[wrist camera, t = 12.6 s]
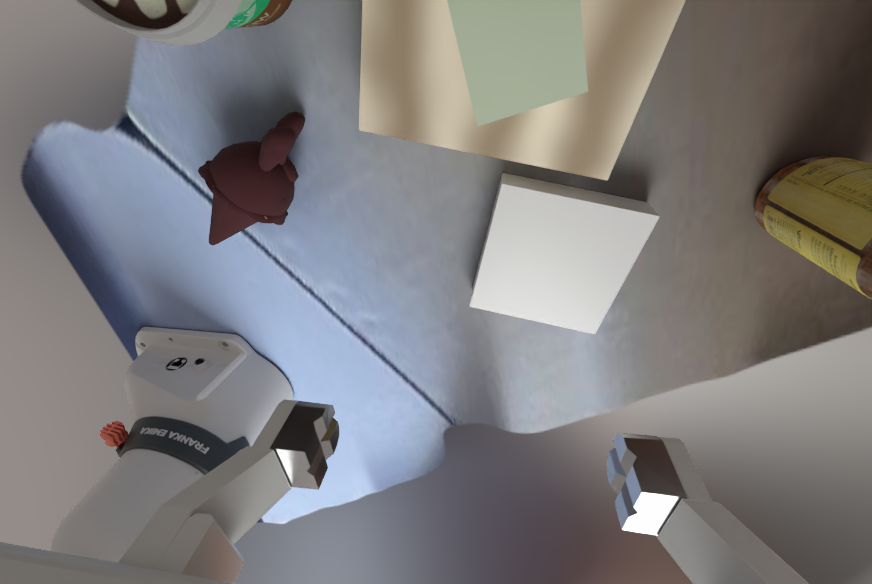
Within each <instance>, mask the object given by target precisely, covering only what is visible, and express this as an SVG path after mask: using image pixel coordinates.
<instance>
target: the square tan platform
mask: <svg viewBox="0 0 872 584" xmlns="http://www.w3.org/2000/svg"><path fill="white" fill-rule="evenodd" d="M685 1H686V0H580V4H581V16H582V27H583V38H584V49H585V60H586V71H587V83H588V92H585V93H582V94H579V95H576V96H573V97H570V98H566V99H563V100H560V101H557V102H554V103H551V104H547V105H544V106H541V107H538V108H535V109H532V110H528V111H525V112H522V113H519V114H516V115H513V116H509V117H506V118H503V119H500V120H497V121H494V122H490V123H487V124H484V125H481V126H478V127H477V123H476V119H475V115H474V111H473V107H472V102H471V98H470V94H469V90H468V86H467V81H466V77H465V73H464V69H463V65H462V61H461V56H460V52H459V48H458V44H457V40H456V36H455V31H454V27H453V23H452V19H451V15H450V11H449V6H448V2H447V0H362V36H361V73H360V111H359V130H361V131H366V132H370V133H375V134H380V135H385V136H390V137H395V138H400V139H405V140H410V141H415V142H420V143H425V144H430V145H434V146H439V147H444V148H449V149H454V150H459V151H464V152H469V153H474V154H479V155H484V156H489V157H494V158H499V159H503V160H508V161H513V162H518V163H523V164H528V165H533V166H538V167H543V168H548V169H553V170H558V171H563V172H567V173H572V174H577V175H582V176H587V177H592V178H597V179H602V180H607V181H608V178H609V176H610V174H611V171H612V169H613V167H614V164H615V162H616V160H617V158H618V155H619V153H620V151H621V148H622V146H623V144H624V141H625V139H626V137H627V134H628V132H629V130H630V128H631V125H632V123H633V121H634V118H635V116H636V114H637V111H638V109H639V107H640V104H641V102H642V100H643V98H644V95H645V93H646V91H647V88H648V86H649V84H650V81H651V79H652V77H653V74H654V72H655V70H656V68H657V65H658V63H659V61H660V58H661V56H662V54H663V51H664V49H665V47H666V44H667V42H668V40H669V37H670V35H671V33H672V31H673V28H674V26H675V24H676V21H677V19H678V17H679V14H680V12H681V10H682V7H683V5H684V3H685Z"/></svg>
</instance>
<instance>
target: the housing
mask: <svg viewBox="0 0 872 584" xmlns="http://www.w3.org/2000/svg"><path fill="white" fill-rule="evenodd" d="M447 2H448V6H449V11H450V15H451V19H452V23H453V27H454V31H455V36H456V40H457V44H458V48H459V52H460V56H461V61H462V65H463V69H464V73H465V77H466V81H467V86H468V90H469V94H470V98H471V102H472V107H473V111H474V115H475V119H476V123H477V127H478V126H481V125H484V124H487V123H490V122H494V121H497V120H500V119H503V118H506V117H509V116H513V115H516V114H519V113H522V112H525V111H528V110H532V109H535V108H538V107H541V106H544V105H547V104H551V103H554V102H557V101H560V100H563V99H566V98H570V97H573V96H576V95H579V94H582V93H585V92H588V83H587V71H586V60H585V49H584V38H583V27H582V16H581V4H580V0H447Z"/></svg>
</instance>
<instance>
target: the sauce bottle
mask: <svg viewBox="0 0 872 584" xmlns="http://www.w3.org/2000/svg"><path fill="white" fill-rule="evenodd" d="M754 209H755V214H756V217H757V220H758V222H759V224H760V226H762V228H764V229H765V230H767V231H768V232H769V233H770V234H771V235H772V236H773V237H775V238H776V239H778V240H779V241H781V242H782V243H784V244H785V245H787V246H789V247H790V248H792V249H793V250H795V251H797V252H798V253H800V254H801V255H803V256H805V257H806V258H808V259H809V260H811V261H812V262H814V263H816V264H817V265H819V266H820V267H822V268H823V269H825V270H827V271H828V272H830V273H831V274H833V275H834V276H836V277H837V278H839V279H840V280H842V281H844V282H845V283H847V284H848V285H850V286H851V287H853V288H854V289H856V290H858V291H859V292H861V293H862V294H864V295H865V296H867V297H868V298H870V299H872V164H869V163H865V162H861V161H858V160H854V159H850V158H843V157H833V156H819V157H812V158H809V159H804V160H801V161H798V162H795V163H793V164H791V165H788V166H786V167H784V168H782V169H780V170H779V171H778V172H777V173H776V174H775V175H774V176H773V177H772V178H771V179H770V180H769V181H768V182H767V183H766V185H765V186H764V187H763V188H762V190H761V191H760V193H759V194H758V196H757V197H756V201H755V206H754Z"/></svg>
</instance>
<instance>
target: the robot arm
mask: <svg viewBox="0 0 872 584" xmlns="http://www.w3.org/2000/svg"><path fill="white" fill-rule="evenodd" d="M135 344H136V350H137V354H138V358H137V359H136V360H135V361H134V362H133V363H132V364H131V366H130V367H129V369H128V371H127V372H126V375H125V378H124V385H125V391H126V394H127V397H128V401H129V404H130V407H131V411H132V414H133V418H134V421H135V423H134V425H133V427H132V429H131V431H130V433H129V435H128V432H127V431H126V430H125V427H124V425H123V423H121V422H118V421H116V422H112V424H107V427H103V430H101V431H100V432H101V433H102V434H100V436H101V437H102V438H103V439H104V440H105V443H106V444H107V445H108V446H116V447H117V449H116V452H117V453H118V455H119V457H120V459H119V460H118V461H117V462H116V463H115V464H114V465H113V466H112V467H111V468H110V470H108V472H107V473H106V474H105V475H104V476H103V477H102V478H101V479H100V480H99V481H98V482H97V483H96V484H95V485H94V486H93V487H92V488H91V490H89V492H88V493H87V494H86V495H85V496H84V497H83V498H82V499H81V500H80V501H79V502H78V503H77V504H76V505H75V507H74V508H73V509H72V510H71V511H70V512H69V513H68V514H67V515H66V516H65V517H64V518H63V520H62V521H61V522H60V524H59V526H58V528H57V530H56V532H55V535H54V537H53V541H52V546H51V551H47V550H41V549H35V548H29V547H24V546H18V545H13V544H8V543H3V542H0V584H237V583H234V582H235V580H236V578H237V576H238V574H239V572H240V570H241V568H242V566H243V563H244V562H243V557H242V556H241V554H240V553H239V552H238V550H237V549H236V548H235V546H234V545H233V544H234V543H235V542H236V541H238V540H239V538H240V537H242V535H244V534H245V533H246V532H247V531H248V530H249V529H250V528H251V527H252V526H253V525H254V524H255V523H256V522H257V521H258V520H259V519H260V518H261V517H262V516H263V515H264V514H265V513H266V512H267V511H268V510H269V509H271V508H272V507H273V506H274V505H275V504H276V503H277V502H278V501H279V500H280V499H281V498H282V497H283V496H284V495H285V494H286V493H287V492H288V491H289V490H290V489H291V487H299V488H309V489H318V490H319V488H320V485H321V483H322V481H323V478H324V476H325V473H326V471H327V468H328V466H327V463H326V459H328V458H329V457H330V456H331V455H332V454H334V451H335V449H336V446H337V443H338V438H339V425H338V422H337V421H336V420H335V419H334V418H333V416H334V414H335V411H334V408H333V405H328V404H319V403H311V402H303V401H295V400H293V391H292V388H291V386H290V384H289V382H288V380H287V379H286V378H285V376H284V375H283V374H282V373H281V372H280V371H279V370H278V369H277V368H276V367H275V366H274V365H273V364H271V363H270V362H269V361H267V360H266V359H264V358H263V357H261V356H260V355H258V354H257V353H256V352H255V351H254V350H253V349H252V348H251V347H250V346H249V344H248V343H247V342H246V341H245V340H244V339H242V338H241V337H240V336H238V335H235V334H227V333H215V332H203V331H191V330H179V329H168V328H156V327H143V328H142V329H141V330H140V331H139V332H138V333H137V335H136V340H135ZM614 444H615V447H616V448H614V449H612V450H610V452H609V454H608V458H607V473H608V479H609V483H610V486H611V488H612V489H613V490H614V491H615V492H616V493H617V494H618V497H617V499H616V502H615V506H616V509H617V513H618V517H619V520H620V524H621V528H622V530H626V531H633V532H639V533H645V534H652V535H658V536H657V538H658V539H659V541H660V542H661V543H662V545H663V546H664V547H665V548H666V550H667V551H668V552H669V553H670V555H671V556H672V557H673V559H674V560H675V561H676V562H677V564H678V565H679V566H680V568H681V569H682V570H683V571H684V573H685V574H686V575H687V577H688V578H689V579H690V580H691V582H692V583H693V584H809V583H808V582H807V581H805V580H804V579H803V578H802V577H801V576H800V575H799V574H798V573H797V572H796V571H794V570H793V569H792V568H791V567H790V566H789V565H788V564H787V563H785V562H784V561H783V560H782V559H781V558H780V557H779V556H778V555H777V554H775V553H774V552H773V551H772V550H771V549H770V548H769V547H768V546H767V545H765V544H764V543H763V542H762V541H761V540H760V539H759V538H758V537H757V536H756V535H754V534H753V533H752V532H751V531H750V530H749V529H748V528H747V527H745V526H744V525H743V524H742V523H741V522H740V521H739V520H738V519H737V518H735V517H734V516H733V515H732V514H731V513H730V512H729V511H728V510H727V509H725V508H724V507H723V506H722V505H721V504H720V503H717V502H712V500H711V498H710V496H709V494H708V492H707V490H706V488H705V486H704V484H703V481H702V479H701V478H700V475H699V473H698V471H697V469H696V467H695V465H694V463H693V461H692V459H691V457H690V455H689V453H688V451H687V449H686V447H685V445H684V443H683V442H682V441H681V440H680V439H676V438H665V437H657V436H649V435H636V434H625V433H618V434H617V435H616V436H615V439H614Z"/></svg>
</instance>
